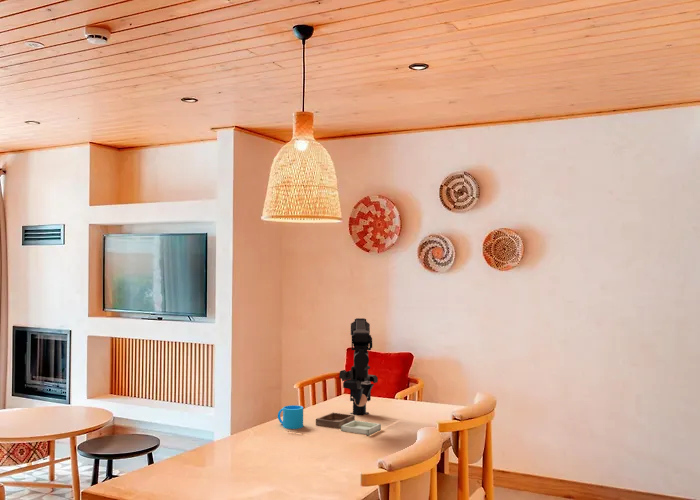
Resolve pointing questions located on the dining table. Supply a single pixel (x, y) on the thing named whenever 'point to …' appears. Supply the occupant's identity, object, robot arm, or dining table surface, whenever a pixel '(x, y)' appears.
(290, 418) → the mug
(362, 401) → the ball
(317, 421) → the walnut box
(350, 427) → the tray
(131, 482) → the dining table surface
